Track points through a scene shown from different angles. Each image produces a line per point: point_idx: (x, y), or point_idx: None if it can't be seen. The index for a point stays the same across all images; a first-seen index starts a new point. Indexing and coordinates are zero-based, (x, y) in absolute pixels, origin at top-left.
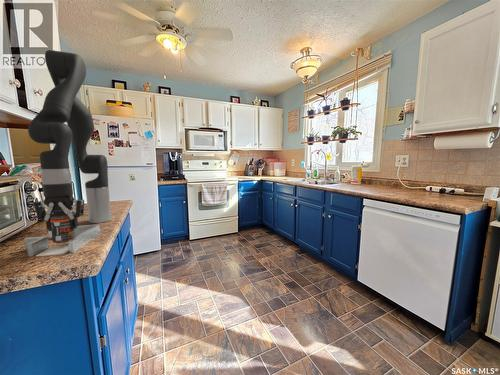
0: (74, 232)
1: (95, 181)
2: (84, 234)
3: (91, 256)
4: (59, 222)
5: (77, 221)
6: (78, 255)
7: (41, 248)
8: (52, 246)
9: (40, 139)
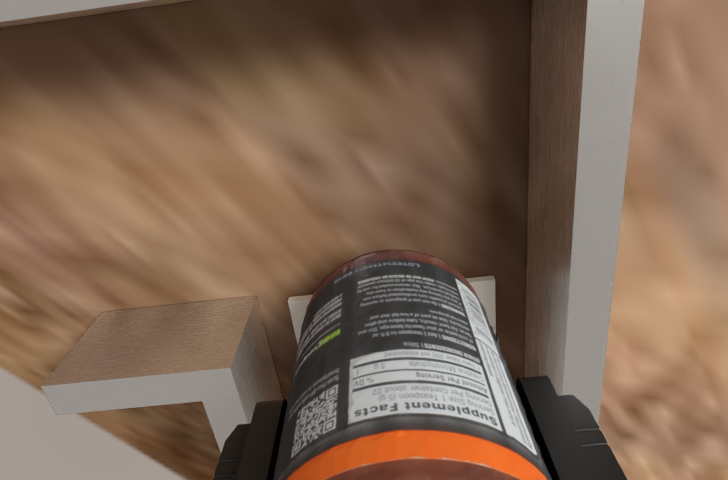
0: (488, 324)
1: None
2: (603, 322)
3: (709, 468)
4: None
5: (614, 462)
6: (612, 448)
7: (271, 381)
8: (292, 306)
9: None
